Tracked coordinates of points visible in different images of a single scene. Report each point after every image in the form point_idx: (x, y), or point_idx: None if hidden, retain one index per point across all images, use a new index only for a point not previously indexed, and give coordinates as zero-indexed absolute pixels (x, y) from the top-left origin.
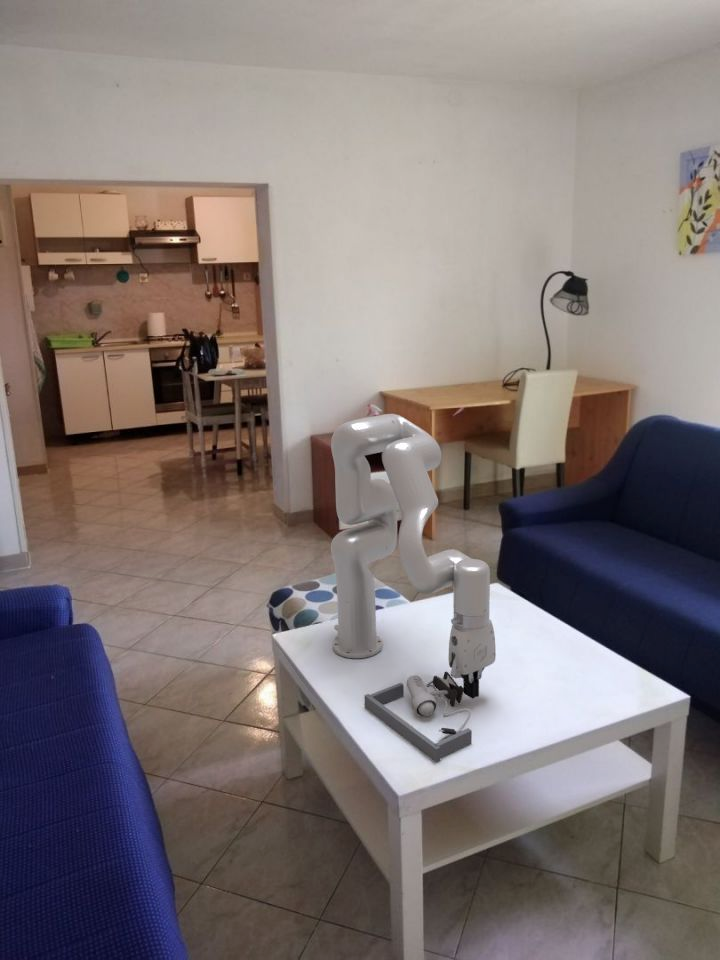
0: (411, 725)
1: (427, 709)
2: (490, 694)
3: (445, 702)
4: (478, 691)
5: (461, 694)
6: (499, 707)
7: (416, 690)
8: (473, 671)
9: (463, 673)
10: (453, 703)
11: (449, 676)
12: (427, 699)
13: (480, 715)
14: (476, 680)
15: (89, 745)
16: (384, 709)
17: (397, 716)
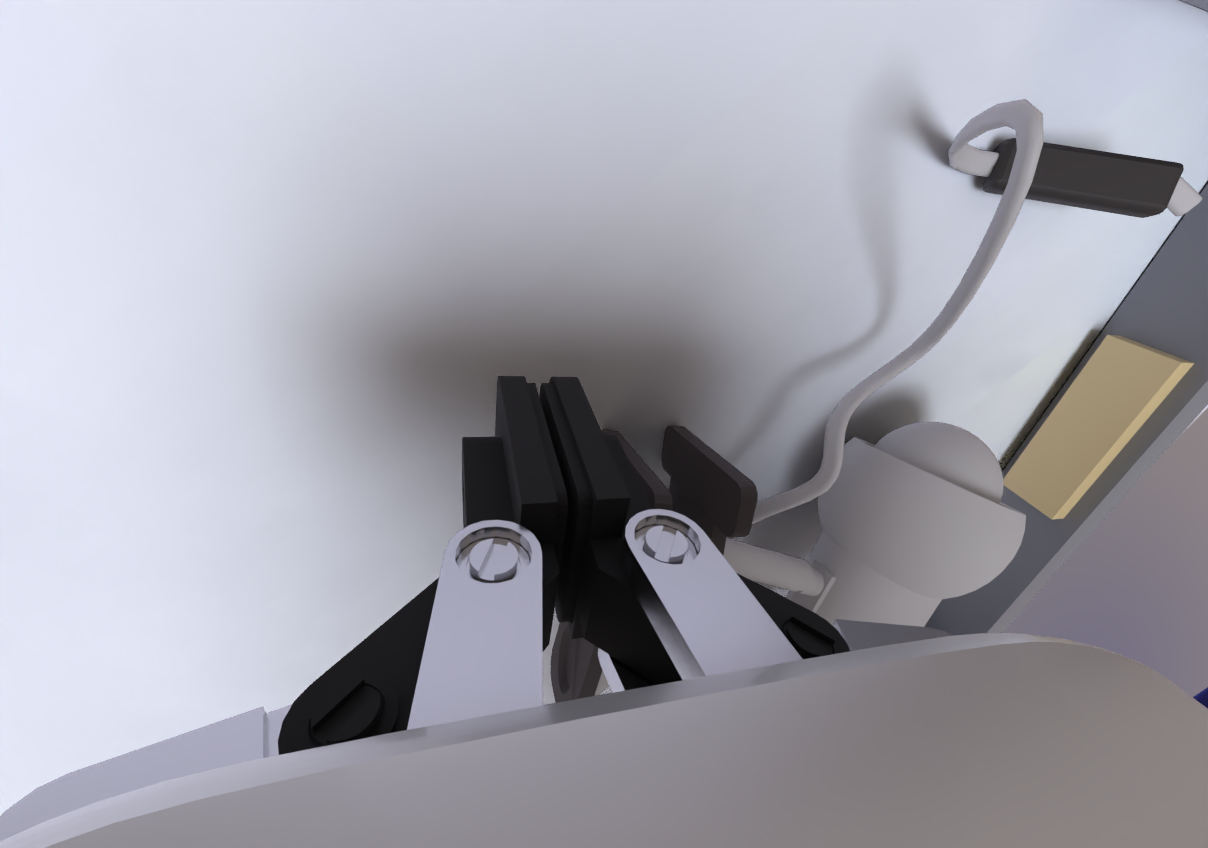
0: (1166, 380)
1: (989, 451)
2: (257, 382)
3: (832, 451)
4: (509, 405)
5: (647, 468)
6: (344, 132)
7: (924, 625)
8: (933, 671)
9: (1161, 676)
10: (695, 439)
11: (599, 679)
12: (1015, 517)
13: (631, 187)
14: (551, 519)
15: (1204, 698)
16: (1060, 565)
17: (1116, 488)
